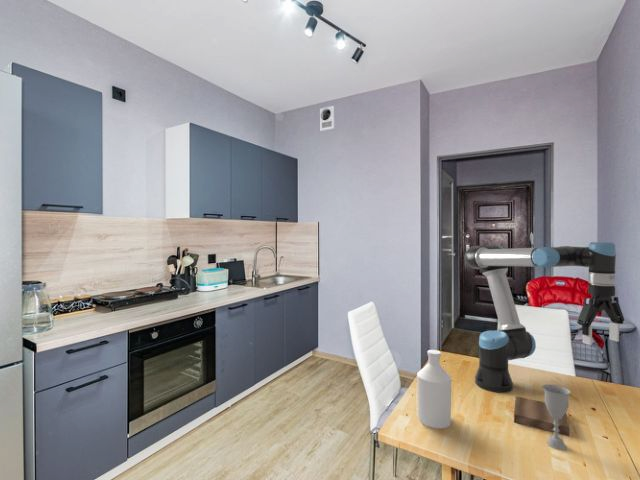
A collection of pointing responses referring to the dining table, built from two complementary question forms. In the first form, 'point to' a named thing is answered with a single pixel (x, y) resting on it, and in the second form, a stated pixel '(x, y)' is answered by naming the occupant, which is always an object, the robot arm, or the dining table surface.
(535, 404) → the plinth
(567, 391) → the chalice
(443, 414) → the bottle
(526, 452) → the dining table surface
